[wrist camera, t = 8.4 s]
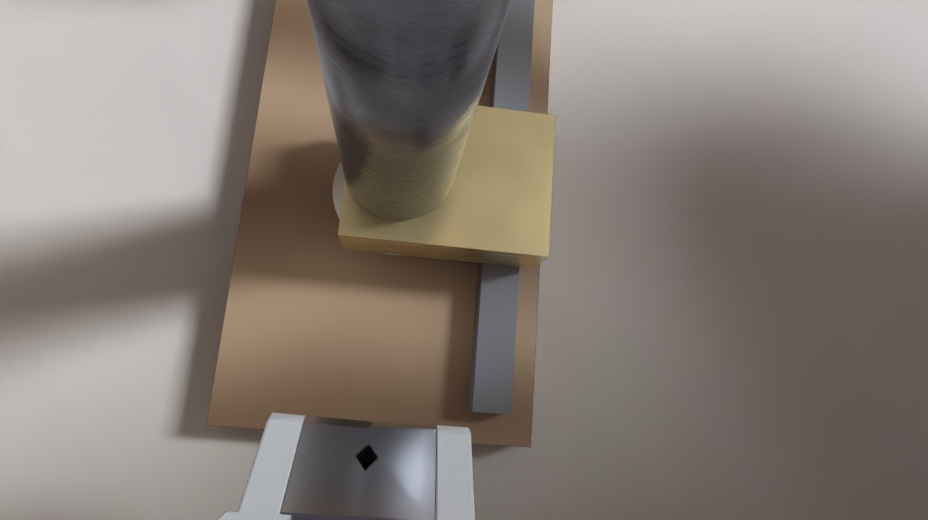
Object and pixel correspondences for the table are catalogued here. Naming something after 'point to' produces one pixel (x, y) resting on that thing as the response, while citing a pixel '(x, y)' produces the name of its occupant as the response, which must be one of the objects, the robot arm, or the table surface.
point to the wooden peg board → (369, 273)
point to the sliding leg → (431, 133)
